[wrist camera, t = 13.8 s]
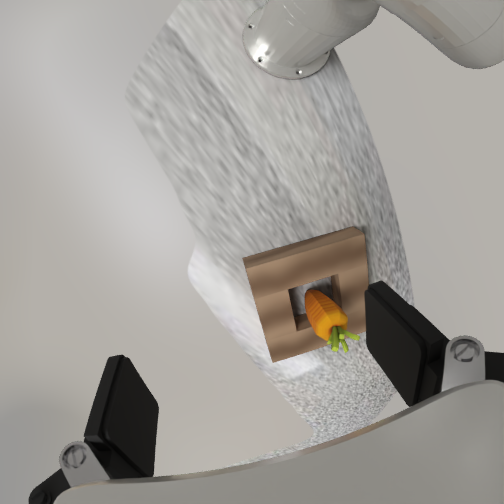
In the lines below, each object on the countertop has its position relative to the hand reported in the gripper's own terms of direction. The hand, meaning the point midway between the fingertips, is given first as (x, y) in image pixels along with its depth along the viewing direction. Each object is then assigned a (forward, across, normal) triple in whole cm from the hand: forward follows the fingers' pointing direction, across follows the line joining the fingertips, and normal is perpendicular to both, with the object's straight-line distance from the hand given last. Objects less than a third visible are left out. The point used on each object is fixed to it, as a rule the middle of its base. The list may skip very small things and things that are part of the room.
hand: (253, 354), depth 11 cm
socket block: (+33, -10, +19) cm, 40 cm away
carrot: (+34, -10, +19) cm, 40 cm away
